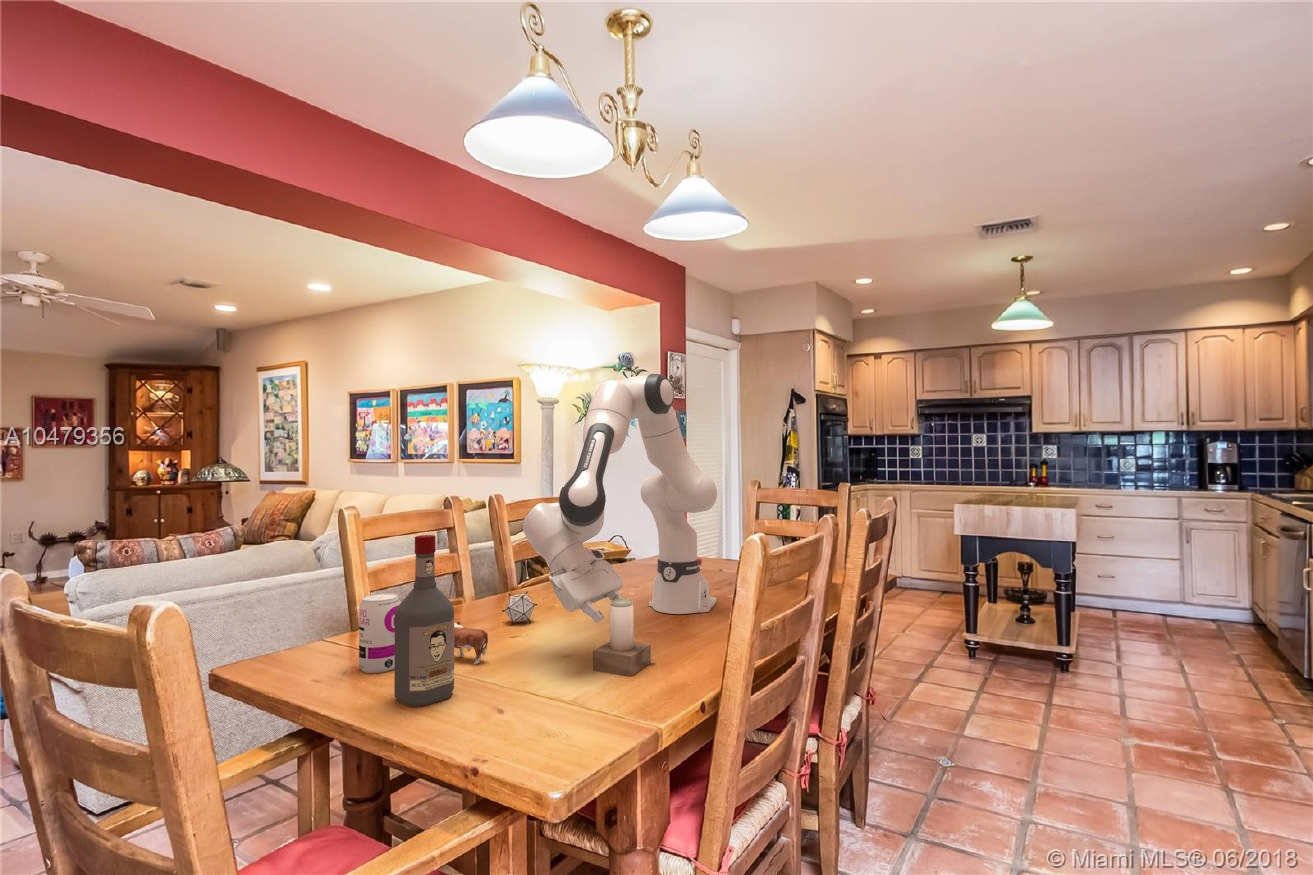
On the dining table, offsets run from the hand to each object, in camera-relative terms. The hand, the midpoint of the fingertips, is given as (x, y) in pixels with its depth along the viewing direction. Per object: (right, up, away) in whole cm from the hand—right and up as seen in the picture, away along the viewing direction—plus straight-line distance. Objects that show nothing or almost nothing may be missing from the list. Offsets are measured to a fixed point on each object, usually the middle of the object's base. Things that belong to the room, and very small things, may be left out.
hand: (611, 615), depth 141 cm
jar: (+2, -7, -1) cm, 7 cm away
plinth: (+2, -11, -1) cm, 11 cm away
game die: (-27, -11, +34) cm, 45 cm away
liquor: (-34, -11, -18) cm, 40 cm away
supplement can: (-49, -11, -2) cm, 50 cm away
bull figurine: (-33, -11, +4) cm, 35 cm away
